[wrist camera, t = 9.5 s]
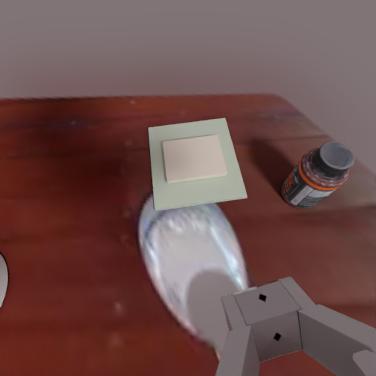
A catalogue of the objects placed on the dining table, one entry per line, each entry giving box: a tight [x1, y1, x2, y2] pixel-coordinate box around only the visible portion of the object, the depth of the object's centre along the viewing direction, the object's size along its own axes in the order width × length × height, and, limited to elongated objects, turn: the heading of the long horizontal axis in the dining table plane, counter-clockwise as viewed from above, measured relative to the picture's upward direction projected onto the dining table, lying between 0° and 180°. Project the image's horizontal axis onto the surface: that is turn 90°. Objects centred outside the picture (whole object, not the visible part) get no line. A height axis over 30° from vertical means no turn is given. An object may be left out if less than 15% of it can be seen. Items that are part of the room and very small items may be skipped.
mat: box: [148, 118, 247, 211], centre depth 40 cm, size 15×17×1 cm
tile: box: [163, 135, 227, 184], centre depth 39 cm, size 10×1×8 cm
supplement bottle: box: [281, 142, 355, 209], centre depth 32 cm, size 6×6×11 cm
